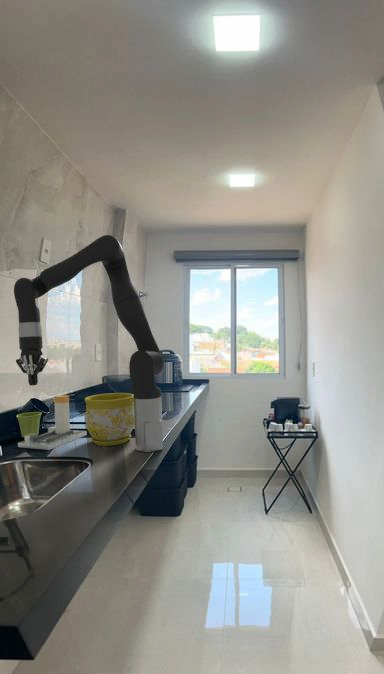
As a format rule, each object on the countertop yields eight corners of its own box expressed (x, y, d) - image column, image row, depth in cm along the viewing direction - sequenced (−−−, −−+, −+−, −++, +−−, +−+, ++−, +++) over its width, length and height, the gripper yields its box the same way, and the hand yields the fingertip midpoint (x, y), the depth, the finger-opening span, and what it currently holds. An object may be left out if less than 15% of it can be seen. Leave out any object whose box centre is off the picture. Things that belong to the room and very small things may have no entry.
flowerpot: (125, 448, 133) (124, 400, 133) (77, 447, 137) (75, 400, 137) (143, 435, 151) (141, 392, 151) (99, 434, 154) (97, 393, 154)
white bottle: (70, 432, 153) (69, 395, 153) (64, 434, 150) (63, 396, 150) (60, 431, 155) (59, 395, 155) (55, 433, 152) (53, 396, 152)
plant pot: (25, 440, 150) (24, 417, 150) (12, 437, 156) (11, 415, 156) (47, 434, 158) (46, 413, 158) (34, 432, 163) (33, 411, 163)
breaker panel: (86, 434, 155) (86, 425, 155) (48, 449, 135) (48, 439, 135) (58, 432, 160) (57, 424, 160) (17, 447, 140) (17, 437, 140)
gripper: (53, 334, 139) (55, 383, 139) (23, 336, 143) (26, 384, 143) (37, 334, 132) (40, 386, 132) (7, 337, 136) (10, 386, 136)
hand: (33, 385), depth 137 cm, fingers closed
